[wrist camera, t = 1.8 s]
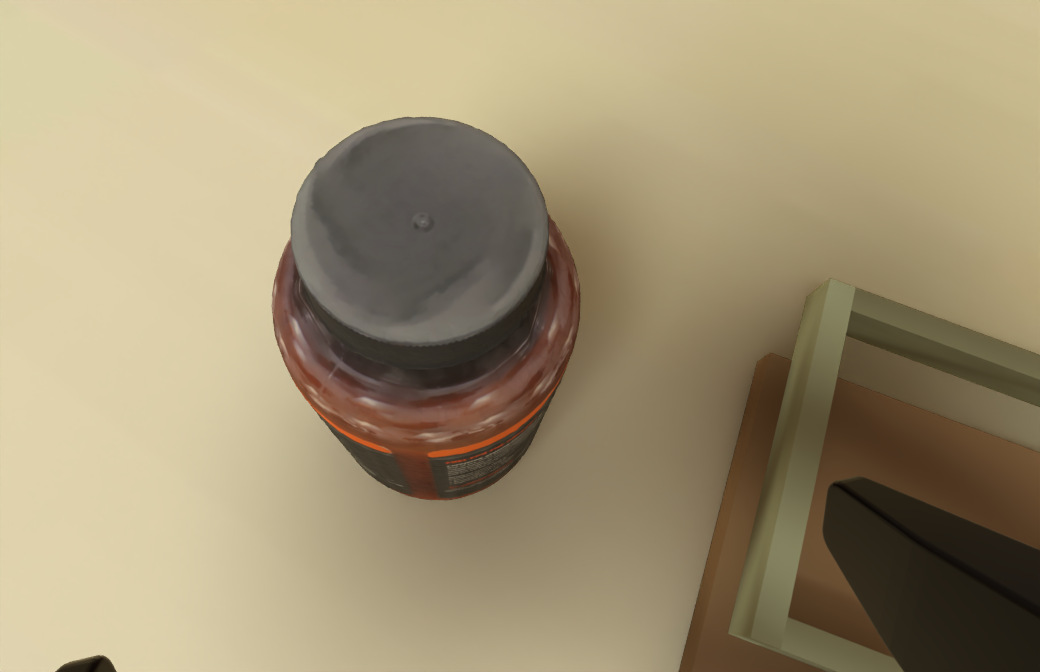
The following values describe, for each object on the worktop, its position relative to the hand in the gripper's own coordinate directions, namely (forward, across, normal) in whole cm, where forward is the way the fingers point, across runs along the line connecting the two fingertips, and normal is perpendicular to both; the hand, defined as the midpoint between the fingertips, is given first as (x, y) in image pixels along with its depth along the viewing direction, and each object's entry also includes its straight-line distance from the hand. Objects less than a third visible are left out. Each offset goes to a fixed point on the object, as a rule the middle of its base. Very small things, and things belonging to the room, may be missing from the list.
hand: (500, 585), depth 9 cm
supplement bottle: (+12, 0, +5) cm, 13 cm away
